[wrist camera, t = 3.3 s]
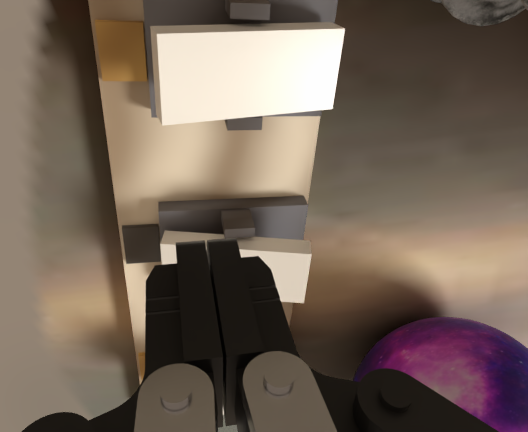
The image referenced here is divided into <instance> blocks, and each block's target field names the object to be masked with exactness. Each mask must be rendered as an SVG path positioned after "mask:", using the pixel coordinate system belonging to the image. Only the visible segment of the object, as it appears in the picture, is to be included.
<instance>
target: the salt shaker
mask: <svg viewBox="0 0 528 432" xmlns="http://www.w3.org/2000/svg"><path fill="white" fill-rule="evenodd" d="M431 1H433V2H438V3H442V4H443V5H444V7H445V8H446V9H447V10H448V11H449V12H450V14H451V15H452V16H453V17H455V18H457V19H459V20H460V21H462V22H464V23H466V24H471V25H477V26H486V25H493V24H498V23H501V22H503V21H505V20H508V19H510V18H512V17H514V16H516V15H517V14H519V13H520V12H521V11H523V10H524V9H527V10H528V0H431Z"/></svg>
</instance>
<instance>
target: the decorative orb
mask: <svg viewBox="0 0 528 432" xmlns="http://www.w3.org/2000/svg"><path fill="white" fill-rule="evenodd" d="M381 368H389V369H395V370H399V371H402V372H404V373H406V374H408V375H410V376H412V377H413V378H415V379H416V380H418V381H420V382H421V383H423V384H424V385H426V386H427V387H429V388H431V389H432V390H434V391H435V392H437V393H439V394H440V395H442V396H443V397H445V398H446V399H448V400H450V401H451V402H453V403H454V404H456V405H458V406H459V407H461V408H462V409H464V410H465V411H467V412H469V413H470V414H472V415H473V416H475V417H477V418H478V419H480V420H481V421H483V422H484V423H486V424H488V425H489V426H491V427H492V428H494V429H496V430H497V431H499V432H528V348H526V347H525V346H524V345H522V344H521V343H520V342H518V341H517V340H515V339H514V338H512V337H511V336H509V335H507V334H506V333H504V332H502V331H500V330H498V329H496V328H493V327H491V326H488V325H486V324H483V323H480V322H476V321H473V320H468V319H462V318H454V317H435V318H428V319H422V320H418V321H414V322H411V323H408V324H406V325H403V326H401V327H399V328H397V329H395V330H394V331H392V332H390V333H389V334H387V335H386V336H385V337H383V338H382V339H381V340H380V341H379V342H377V343H376V344H375V345H374V346H373V347H372V349H371V350H370V351H369V352H368V353H367V355H366V356H365V358H364V359H363V360H362V362H361V364H360V366H359V367H358V369H357V371H356V374H355V376H354V379H353V381H356V382H360V381H361V379H362V378H363V377H364V376H365V375H366V374H367V373H369V372H370V371H373V370H375V369H381Z"/></svg>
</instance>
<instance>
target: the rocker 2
mask: <svg viewBox="0 0 528 432" xmlns="http://www.w3.org/2000/svg"><path fill="white" fill-rule="evenodd" d="M212 239H225V238H224V234H209V233H195V232H181V231H167V230H165V231H164V234H163V237H162V240H161V243H160V247H161V261H162V265H164V264H175V263H177V258H176V242H189V241H201V240H205V244H206V250H207V240H212ZM236 239H237V242H238V246H239V251H240V255H241V258H242V257H253V256H259V257H260V258H261V259H262V260H263V261H264V262H265V263H266V265H267V266H268V267H269V268H270V269H271V271H272V274H273V277H274V281H275V284H276V288H277V290H278V293H279V296H280V301H281V302H293V303H304V299H305V293H306V287H307V281H308V275H309V268H310V262H311V256H312V252H311V241H309V240H295V239H281V238H266V237H244V238H236Z"/></svg>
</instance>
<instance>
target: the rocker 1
mask: <svg viewBox="0 0 528 432" xmlns="http://www.w3.org/2000/svg"><path fill="white" fill-rule="evenodd" d="M150 29H151V44H152V59H153V74H154V89H155V104H156V115H157V117H158V119H159V120H160V122H161V124H162V126H163V125H173V124H184V123H194V122H204V121H215V120H225V119H235V118H245V117H256V116H266V115H276V114H287V113H297V112H307V111H317V110H328V109H332V108H333V102H334V96H335V89H336V83H337V77H338V70H339V64H340V58H341V51H342V45H343V39H344V32H345V28H343V27H341V26H339V25H337V24H334V23H332V22H309V23H264V24H219V25H174V26H150Z"/></svg>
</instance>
